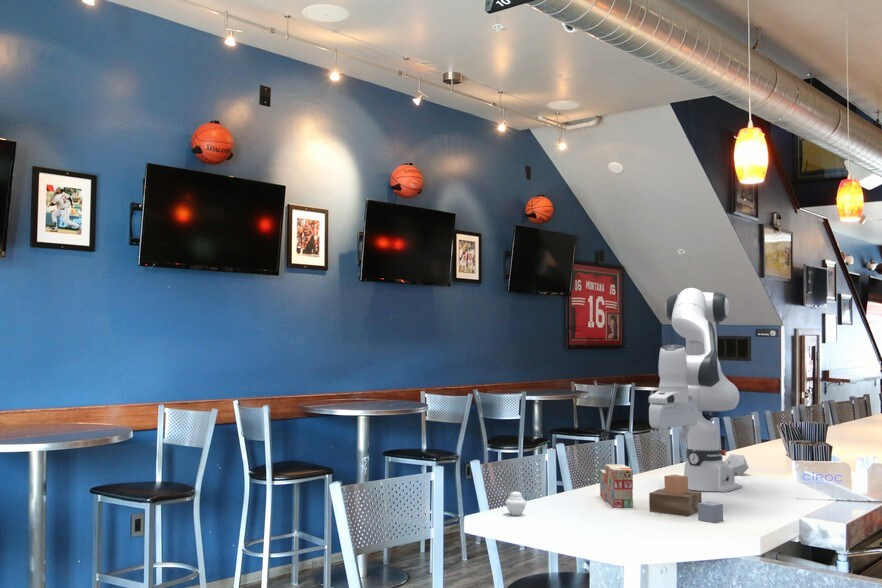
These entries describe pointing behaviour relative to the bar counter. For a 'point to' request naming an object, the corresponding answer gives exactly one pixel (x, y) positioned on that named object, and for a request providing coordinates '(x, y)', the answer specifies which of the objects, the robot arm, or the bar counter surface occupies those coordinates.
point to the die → (737, 464)
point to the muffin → (515, 503)
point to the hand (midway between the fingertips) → (674, 441)
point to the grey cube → (710, 512)
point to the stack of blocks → (617, 485)
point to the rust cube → (676, 484)
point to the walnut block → (674, 502)
